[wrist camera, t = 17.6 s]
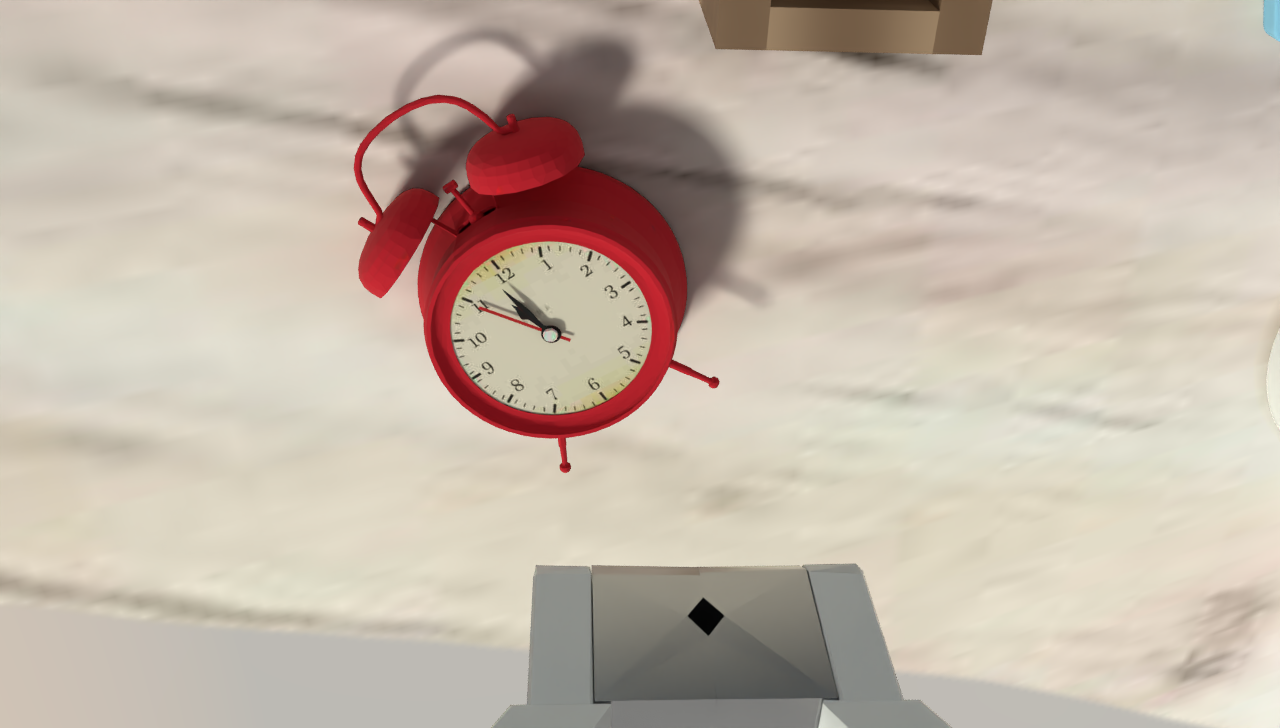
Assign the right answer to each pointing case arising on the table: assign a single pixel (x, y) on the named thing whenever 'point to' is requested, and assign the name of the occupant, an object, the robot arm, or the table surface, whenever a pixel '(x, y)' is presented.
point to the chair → (1272, 18)
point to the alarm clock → (535, 281)
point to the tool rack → (850, 25)
